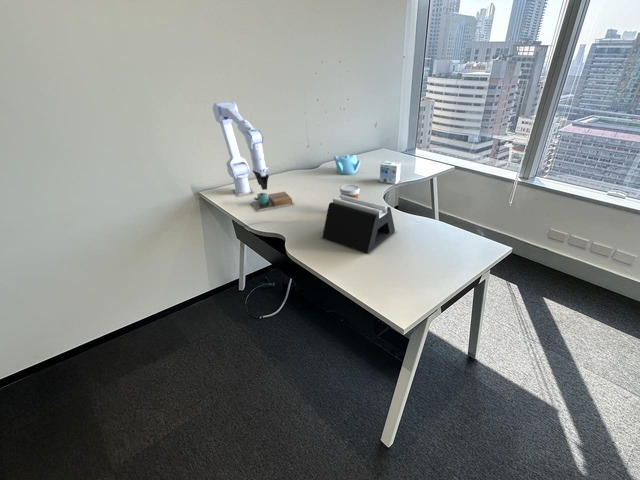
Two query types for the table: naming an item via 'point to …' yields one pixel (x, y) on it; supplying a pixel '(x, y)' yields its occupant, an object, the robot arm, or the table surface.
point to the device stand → (358, 223)
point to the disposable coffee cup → (350, 191)
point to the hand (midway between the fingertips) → (262, 186)
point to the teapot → (347, 164)
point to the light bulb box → (389, 172)
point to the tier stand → (274, 200)
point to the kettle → (262, 199)
